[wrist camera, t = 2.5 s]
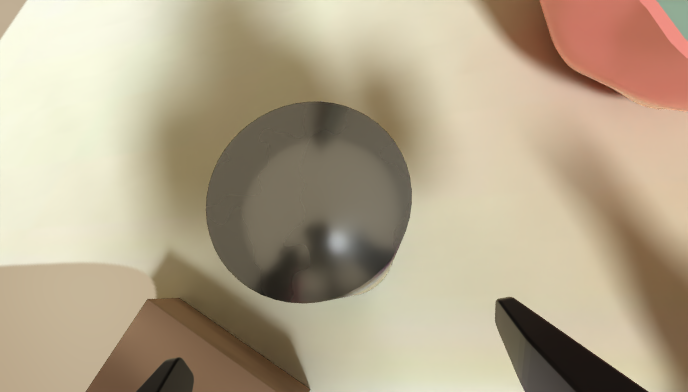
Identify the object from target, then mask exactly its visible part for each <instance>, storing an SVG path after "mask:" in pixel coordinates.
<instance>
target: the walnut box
mask: <svg viewBox="0 0 688 392" xmlns="http://www.w3.org/2000/svg"><path fill="white" fill-rule="evenodd" d="M176 357H181V358H182V359H183V360H184V361H185V363H186V364H187V365H188V367H189V368H190V370H191V371H192V373H193V375H194V385H193V391H192V392H309V391H310V389H309V388H308V387H306V386H305V385H303V384H302V383H301V382H299V381H298V380H296V379H295V378H293V377H292V376H290V375H289V374H288V373H286V372H285V371H283V370H282V369H280V368H279V367H278V366H276V365H275V364H273V363H272V362H270V361H269V360H267V359H266V358H265V357H263V356H262V355H260V354H259V353H257V352H256V351H255V350H253V349H252V348H250V347H249V346H247V345H246V344H245V343H243V342H242V341H240V340H239V339H237V338H236V337H234V336H233V335H232V334H230V333H229V332H227V331H226V330H224V329H223V328H222V327H220V326H219V325H217V324H216V323H214V322H213V321H211V320H210V319H209V318H207V317H206V316H204V315H203V314H201V313H200V312H199V311H197V310H196V309H194V308H193V307H191V306H190V305H189V304H187V303H186V302H184V301H183V300H181V299H180V298H167V299H148V300H147V301H146V302H145V304H144V305H143V307H142V308H141V310H140V311H139V313H138V314H137V316H136V317H135V319H134V320H133V322H132V323H131V325H130V326H129V328H128V329H127V331H126V332H125V334H124V335H123V337H122V338H121V340H120V341H119V343H118V344H117V346H116V347H115V349H114V350H113V352H112V353H111V355H110V356H109V358H108V359H107V361H106V362H105V364H104V365H103V367H102V368H101V370H100V371H99V373H98V374H97V376H96V377H95V379H94V380H93V382H92V383H91V385H90V386H89V388H88V389H87V391H86V392H136V391H137V390H138V389H139V388H140V387H141V385H142V384H143V383H144V382H145V381H146V380H147V379H148V378H149V377H150V376H151V375H152V374H153V373H154V371H155V370H156V369H157V368H158V367H159V366H160V365H161V364H162V363H163V362H164V361H165V360H167V359H171V358H176Z"/></svg>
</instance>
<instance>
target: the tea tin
mask: <svg viewBox="0 0 688 392" xmlns="http://www.w3.org/2000/svg"><path fill="white" fill-rule="evenodd" d="M411 204H412V189H411V182H410V176H409V172H408V168H407V165H406V162H405V160H404V158H403V155H402V153H401V151H400V150H399V148H398V146H397V145H396V143H395V142H394V140H393V139H392V138H391V137H390V135H389V134H388V133H387V132H386V131H385V130H384V129H383V128H382V127H381V126H380V125H379V124H378V123H376V122H375V121H373V120H372V119H371V118H369V117H368V116H366V115H364V114H362V113H360V112H359V111H357V110H354V109H351V108H349V107H346V106H342V105H338V104H334V103H326V102H304V103H296V104H292V105H288V106H284V107H281V108H278V109H275V110H273V111H271V112H269V113H267V114H265V115H263V116H261V117H259V118H258V119H256V120H255V121H253V122H252V123H250V124H249V125H248V126H246V127H245V128H244V129H243V130H242V131H241V132H240V133H239V134H238V135H237V136H236V137H235V138H234V139H233V140H232V141H231V142H230V144H229V145H228V146H227V147H226V149H225V150H224V152H223V153H222V155H221V157H220V158H219V160H218V162H217V164H216V166H215V169H214V171H213V173H212V177H211V180H210V183H209V187H208V193H207V201H206V216H207V225H208V229H209V234H210V237H211V240H212V243H213V246H214V248H215V250H216V252H217V254H218V256H219V257H220V259H221V261H222V262H223V263H224V265H225V266H226V267H227V269H228V270H229V271H230V272H231V273H232V274H233V275H234V276H235V277H236V278H237V279H238V280H239V281H240V282H242V283H243V284H244V285H246V286H247V287H248V288H250V289H252V290H254V291H256V292H257V293H259V294H261V295H264V296H267V297H269V298H272V299H275V300H280V301H284V302H291V303H315V302H322V301H327V300H332V299H337V298H343V297H348V296H353V295H358V294H362V293H365V292H367V291H369V290H371V289H373V288H374V287H376V286H377V285H378V284H379V283H380V282H381V281H382V280H383V279H384V278H385V276H386V275H387V273H388V271H389V269H390V267H391V265H392V262H393V260H394V258H395V255H396V253H397V250H398V248H399V246H400V243H401V241H402V239H403V236H404V234H405V232H406V228H407V225H408V221H409V218H410V211H411Z"/></svg>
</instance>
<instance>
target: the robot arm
mask: <svg viewBox="0 0 688 392" xmlns="http://www.w3.org/2000/svg"><path fill="white" fill-rule="evenodd" d="M495 322H496V326H497V329H498V331H499V333H500V336H501V338H502V341H503V343H504V345H505V348H506V350H507V352H508V355H509V357H510V359H511V362H512V364H513V367H514V369H515V371H516V374H517V376H518V378H519V380H520V383H521V385H522V387H523V389H524V391H525V392H648V391H647V390H645V389H644V388H642V387H641V386H639V385H638V384H637V383H635V382H634V381H632V380H631V379H629V378H628V377H626V376H625V375H624V374H622V373H621V372H619V371H618V370H616V369H615V368H614V367H612V366H611V365H609V364H608V363H606V362H605V361H604V360H602V359H601V358H599V357H598V356H596V355H595V354H593V353H592V352H591V351H589V350H588V349H586V348H585V347H583V346H582V345H581V344H579V343H578V342H576V341H575V340H573V339H572V338H571V337H569V336H568V335H566V334H565V333H563V332H562V331H560V330H559V329H558V328H556V327H555V326H553V325H552V324H550V323H549V322H548V321H546V320H545V319H543V318H542V317H540V316H539V315H538V314H536V313H535V312H533V311H532V310H530V309H529V308H527V307H526V306H525V305H523V304H522V303H520V302H519V301H517V300H516V299H515V298H512V297H506V298H500V299H497V300H496V306H495ZM193 385H194V375H193V373H192V371H191V370H190V368H189V367H188V365H187V364H186V363H185V361H184V360H183V359H182V358H181V357H176V358H171V359H167V360H165V361H164V362H163V363H162V364H161V365H160V366H159V367H158V368H157V369H156V370H155V371H154V373H153V374H152V375H151V376H150V377H149V378H148V379H147V380H146V381H145V382H144V383H143V384H142V385H141V387H140V388H139V389H138V390H137V391H136V392H192V391H193Z"/></svg>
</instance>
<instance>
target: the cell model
mask: <svg viewBox="0 0 688 392" xmlns="http://www.w3.org/2000/svg"><path fill="white" fill-rule="evenodd" d="M539 1H540V4H541V7H542V11H543V14H544V17H545V20H546V23H547V27H548V30H549V33H550V37H551V39H552V42H553V44H554V46H555V48H556V50H557V52H558V53H559V55H560V56H561V58H562V59H563V60H564V62H565V63H566V64H567V66H568V67H569V68H571V69H573V70H574V71H576V72H577V73H579V74H582V75H584V76H586V77H589V78H591V79H593V80H595V81H597V82H599V83H601V84H603V85H605V86H607V87H609V88H612V89H613V90H615V91H617V92H618V93H620V94H622V95H623V96H625V97H627V98H628V99H630V100H632V101H633V102H635V103H637V104H640V105H642V106H645V107H649V108H654V109H671V110H678V111H685V112H688V0H539Z"/></svg>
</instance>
